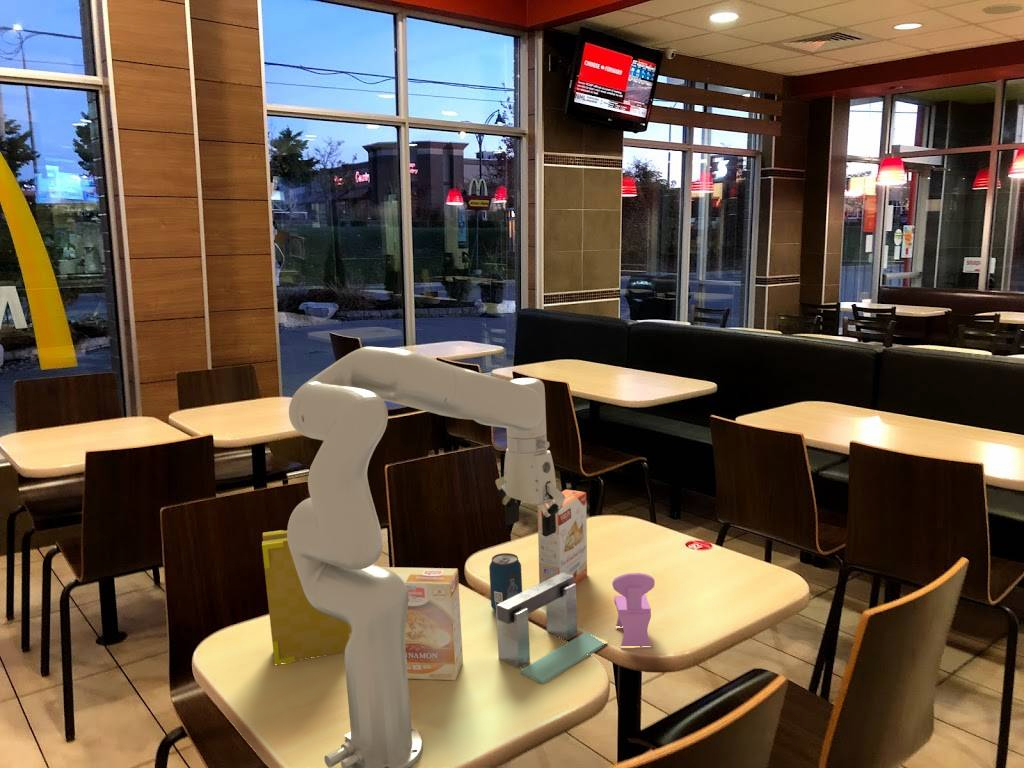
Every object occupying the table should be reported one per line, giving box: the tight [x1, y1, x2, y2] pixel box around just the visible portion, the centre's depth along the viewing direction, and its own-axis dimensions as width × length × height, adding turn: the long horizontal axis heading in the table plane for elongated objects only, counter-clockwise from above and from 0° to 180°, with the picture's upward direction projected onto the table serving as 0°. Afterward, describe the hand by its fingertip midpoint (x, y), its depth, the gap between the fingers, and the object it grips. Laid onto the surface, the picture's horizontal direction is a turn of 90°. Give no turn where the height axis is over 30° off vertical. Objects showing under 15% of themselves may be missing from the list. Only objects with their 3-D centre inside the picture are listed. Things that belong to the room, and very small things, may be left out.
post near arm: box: [495, 606, 531, 669], centre depth 154 cm, size 3×6×11 cm, turn 45°
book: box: [261, 529, 352, 665], centre depth 160 cm, size 17×7×25 cm, turn 105°
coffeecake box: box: [382, 566, 464, 681], centre depth 151 cm, size 15×7×20 cm, turn 82°
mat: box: [520, 632, 604, 685], centre depth 155 cm, size 19×6×1 cm, turn 135°
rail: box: [496, 572, 574, 624], centre depth 158 cm, size 19×3×3 cm, turn 135°
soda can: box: [489, 552, 523, 614], centre depth 175 cm, size 7×7×12 cm
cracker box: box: [537, 489, 588, 585], centre depth 186 cm, size 14×6×21 cm, turn 148°
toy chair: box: [611, 572, 656, 647], centre depth 160 cm, size 8×9×15 cm
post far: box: [545, 583, 578, 641], centre depth 164 cm, size 3×6×11 cm, turn 45°
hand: (530, 528), depth 156 cm, fingers open, 9 cm apart
